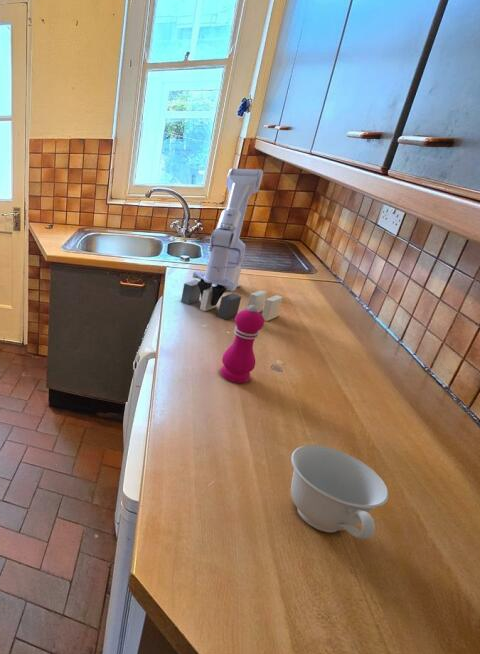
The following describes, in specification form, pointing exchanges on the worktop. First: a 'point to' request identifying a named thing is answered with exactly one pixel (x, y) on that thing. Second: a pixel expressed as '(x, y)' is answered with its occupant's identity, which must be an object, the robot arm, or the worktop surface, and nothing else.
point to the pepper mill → (242, 346)
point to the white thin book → (207, 300)
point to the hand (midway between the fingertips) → (208, 303)
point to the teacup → (335, 490)
